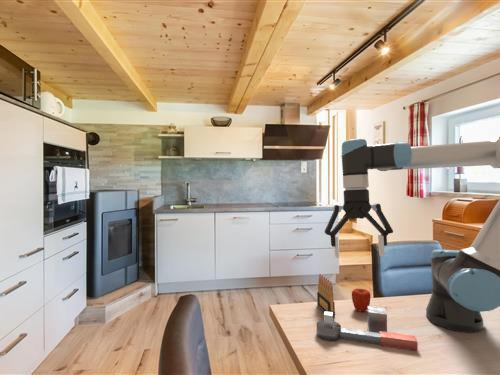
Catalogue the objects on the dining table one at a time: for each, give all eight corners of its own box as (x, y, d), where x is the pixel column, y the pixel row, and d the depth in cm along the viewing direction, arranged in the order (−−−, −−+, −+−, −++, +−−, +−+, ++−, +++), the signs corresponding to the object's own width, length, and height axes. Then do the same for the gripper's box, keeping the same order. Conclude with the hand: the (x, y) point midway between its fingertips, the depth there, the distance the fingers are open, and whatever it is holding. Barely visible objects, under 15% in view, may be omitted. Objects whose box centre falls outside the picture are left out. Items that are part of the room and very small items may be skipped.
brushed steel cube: (385, 326, 89) (384, 307, 89) (387, 334, 85) (386, 314, 85) (367, 324, 91) (367, 305, 91) (369, 332, 86) (368, 312, 86)
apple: (358, 315, 98) (358, 293, 98) (348, 307, 104) (348, 287, 104) (374, 313, 99) (374, 291, 99) (363, 306, 105) (363, 285, 105)
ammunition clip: (335, 317, 96) (334, 282, 96) (330, 317, 96) (329, 282, 96) (321, 304, 107) (321, 272, 107) (317, 305, 107) (316, 273, 107)
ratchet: (413, 341, 81) (413, 318, 81) (419, 355, 74) (418, 330, 74) (317, 328, 89) (317, 307, 89) (315, 339, 83) (315, 317, 83)
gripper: (393, 187, 92) (396, 253, 92) (314, 190, 95) (317, 254, 95) (402, 187, 84) (406, 258, 84) (316, 190, 88) (319, 259, 87)
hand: (359, 256), depth 89 cm, fingers open, 13 cm apart
